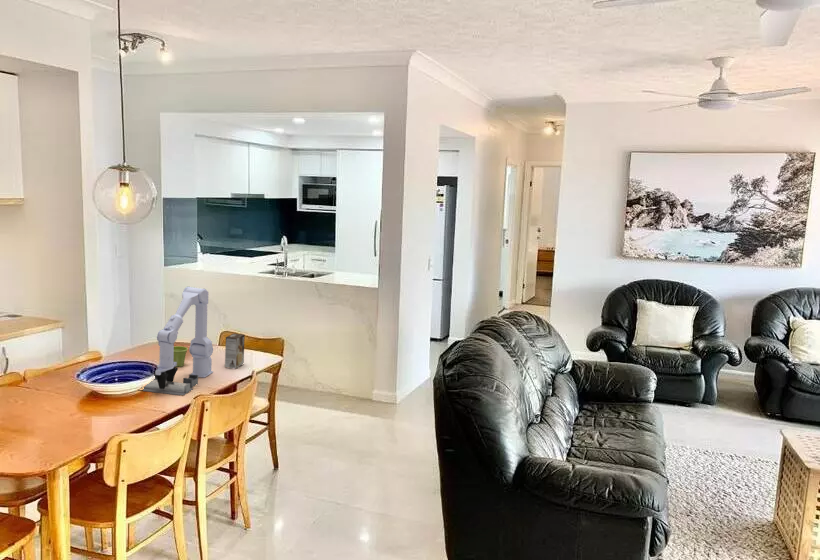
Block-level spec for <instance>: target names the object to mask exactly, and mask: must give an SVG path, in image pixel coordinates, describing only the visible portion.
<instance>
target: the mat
mask: <svg viewBox="0 0 820 560" xmlns="http://www.w3.org/2000/svg"><path fill="white" fill-rule="evenodd" d="M191 390H192V391H193V390H194V388H193V387H192V388H190V392H192V391H191ZM142 392H146V393H147V392H148V393H157V394H165V395H173V396H180V395H184V396H186V395H187V394H189V393H190V392H189V391H188V392H189V393H188V392H187V394H186V393H182V392H173V391H165V390H157V389H148V388H144V389H143V391H142ZM185 394H186V395H185Z"/></svg>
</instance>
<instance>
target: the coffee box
mask: <svg viewBox="0 0 820 560" xmlns="http://www.w3.org/2000/svg"><path fill="white" fill-rule="evenodd" d="M245 337H246V336H245V334H241V333H231V334H229V335H227V336H226V337H225V348H224V349H225V351H224V352H225V353H224V368H225V367H230V368H229V369H232V368H237V367H238V366H240V365H242V364H243V363H244V362H245ZM244 364H245V363H244ZM244 364H243V365H244ZM243 365H242V366H243ZM240 367H241V366H240ZM237 369H238V368H237Z"/></svg>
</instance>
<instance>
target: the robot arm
mask: <svg viewBox="0 0 820 560" xmlns="http://www.w3.org/2000/svg"><path fill="white" fill-rule="evenodd" d="M181 298H182V299H181V301H180V302H179V305H178V308H177V310H176V312H175V314H171V316H170V317H169V319H168V320H167V322H166V324H165V326H164V327H163V329H160V330H159V331H158V333H157V334H156V335H157V336H156V340H157V342H158V346H159V362H158V363H159V364H157V365H156V368H157V369H156V370H155V372H154V373H153V374H154V375H153V377H154V376H155V377H156V379H157V381H158V385H159V388H160V389H165V384H166V379H167V381H169V382H174V380H175V375H177V374H176V373H177V371H178V370H179V368H178V366H177V362H173V358H174V346H175V345H174V344H175V342H176V341H177V339H178V334H179V332H178V331H179V330H180V328H181V326H182V325H183V323H184V320H183V319H184V316H185V315H186V314H187V312H188V311H189V309H190V307H191V306H193V305H194V306H195V322H194V324H195V325H194V326H195V328H194V330H195V331H194V338H192V339H191V340H190V346H189V348H188V350H189V351H188V352H189V353H190V354H189V355H191V357H192V373H190V374H192V375H198V378H206V377H208V376H210V375H212V373H214V371H213V370H212V364H213V363H212V362H213V361H212V360H213V359H212V357H211V356H212V355H213V353H214V347H213V341H212V340H211V339H210V337H209V338H208V305H209V290H207V289H206V288H200V287H195V286H194V287H193V286H186V287H185V288H184V289H183V291H182V292H181ZM176 366H177V367H176ZM164 372H165V373H166V374H165V373H164Z"/></svg>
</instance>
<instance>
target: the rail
mask: <svg viewBox="0 0 820 560" xmlns="http://www.w3.org/2000/svg"><path fill="white" fill-rule="evenodd" d="M152 380H153V381H151V382H150V383H149V384H147V385H146V386H145V387H144V388H148V389H157V390H165V391H173V392H182V393H187V392H188V391H190V383H188V384H186V383H183V382H176V381H173V382H169V381H166V384H165V389H160V388H159V385H158V381H157V380H154V379H152ZM190 392H191V391H190ZM187 394H188V393H187Z"/></svg>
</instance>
